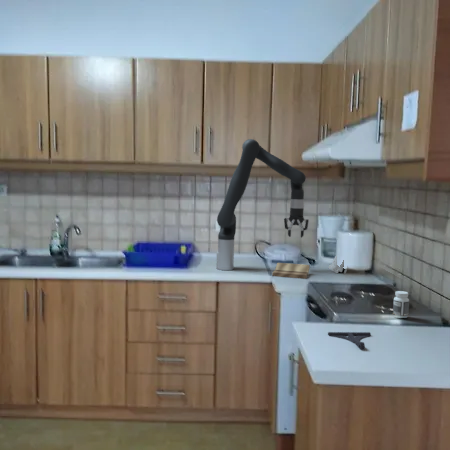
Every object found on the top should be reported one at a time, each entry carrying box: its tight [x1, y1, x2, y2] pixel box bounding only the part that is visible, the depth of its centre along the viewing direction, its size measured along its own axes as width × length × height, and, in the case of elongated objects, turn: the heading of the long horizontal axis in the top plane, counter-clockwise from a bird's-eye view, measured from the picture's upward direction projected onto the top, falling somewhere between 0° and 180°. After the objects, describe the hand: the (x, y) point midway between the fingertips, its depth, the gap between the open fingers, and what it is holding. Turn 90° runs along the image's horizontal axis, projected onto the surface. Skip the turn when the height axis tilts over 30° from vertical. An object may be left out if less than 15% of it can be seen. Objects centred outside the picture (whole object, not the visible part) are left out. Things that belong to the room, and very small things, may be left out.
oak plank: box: [274, 262, 311, 274], centre depth 269 cm, size 18×7×2 cm, turn 73°
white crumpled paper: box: [328, 255, 348, 274], centre depth 281 cm, size 17×5×10 cm, turn 5°
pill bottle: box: [392, 290, 410, 316], centre depth 189 cm, size 6×6×10 cm
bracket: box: [327, 331, 372, 351], centre depth 160 cm, size 14×15×3 cm
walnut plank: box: [271, 269, 309, 280], centre depth 262 cm, size 18×7×2 cm, turn 73°
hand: (295, 236), depth 275 cm, fingers open, 6 cm apart
